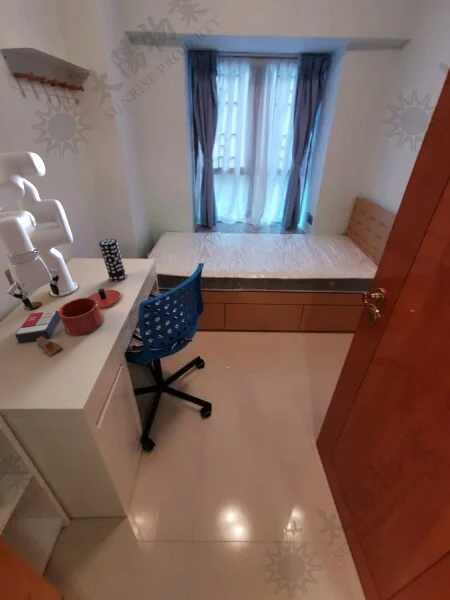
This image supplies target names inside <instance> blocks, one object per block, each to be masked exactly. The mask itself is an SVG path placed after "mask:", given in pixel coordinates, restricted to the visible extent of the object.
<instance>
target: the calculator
mask: <svg viewBox="0 0 450 600" xmlns="http://www.w3.org/2000/svg"><path fill="white" fill-rule="evenodd" d="M58 312H59V310H56V309H55V310H54V309H53V310H48V311H40V312H33V313H29V316H28V317H27V318H26V319H25V320H24V322H23V323H22V324H21V326H20V328H19V329H18V330H17V332H16V333H15V334H14V335H15V336H14V337H16V339H17V341H18V343H25V342H32V341H37V340H36V339H38V338H40V337H41V336H43V337H44V338H46V339H50V338H51V335H52V334H53V330H54V328H55V326H56V325H57V323H58V322H59V319H61V318H60V316H59V313H58Z"/></svg>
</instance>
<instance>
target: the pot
mask: <svg viewBox="0 0 450 600" xmlns="http://www.w3.org/2000/svg"><path fill="white" fill-rule="evenodd" d="M100 309H101V308H99V306H98V304H97V301H96V300H95V299H92V298H89V297H80V298H75V299H72V300H70V301H68V302H66V303H64V304H63V305H62V306H61V307H59V310H58V313H59V316H60V318H59V319H60V320H61V323H62V325H63V326H64V329H65V331H66V332H67V333H68V334H69V335H72V336H83V335H87V334H90V333H92V332H94V331H96V330H97V329H99V328H100V326H101V325H102V324H103V323H104V319H103V314H102V313H101V310H100Z"/></svg>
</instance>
